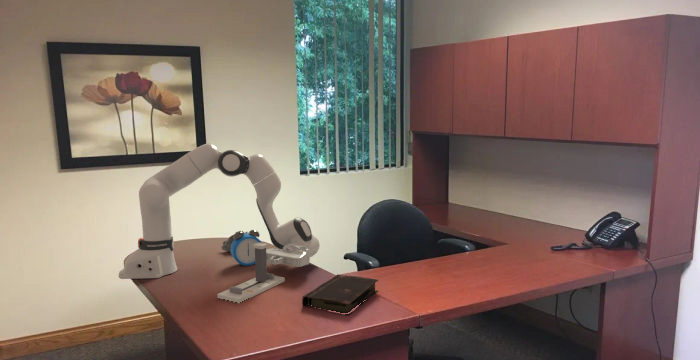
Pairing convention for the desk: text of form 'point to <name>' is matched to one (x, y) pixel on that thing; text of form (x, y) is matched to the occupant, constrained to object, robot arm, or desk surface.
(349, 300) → the diary
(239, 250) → the alarm clock
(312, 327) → the desk surface
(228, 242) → the mineral rock
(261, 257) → the fader tab
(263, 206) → the robot arm
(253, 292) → the console
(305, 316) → the desk surface
